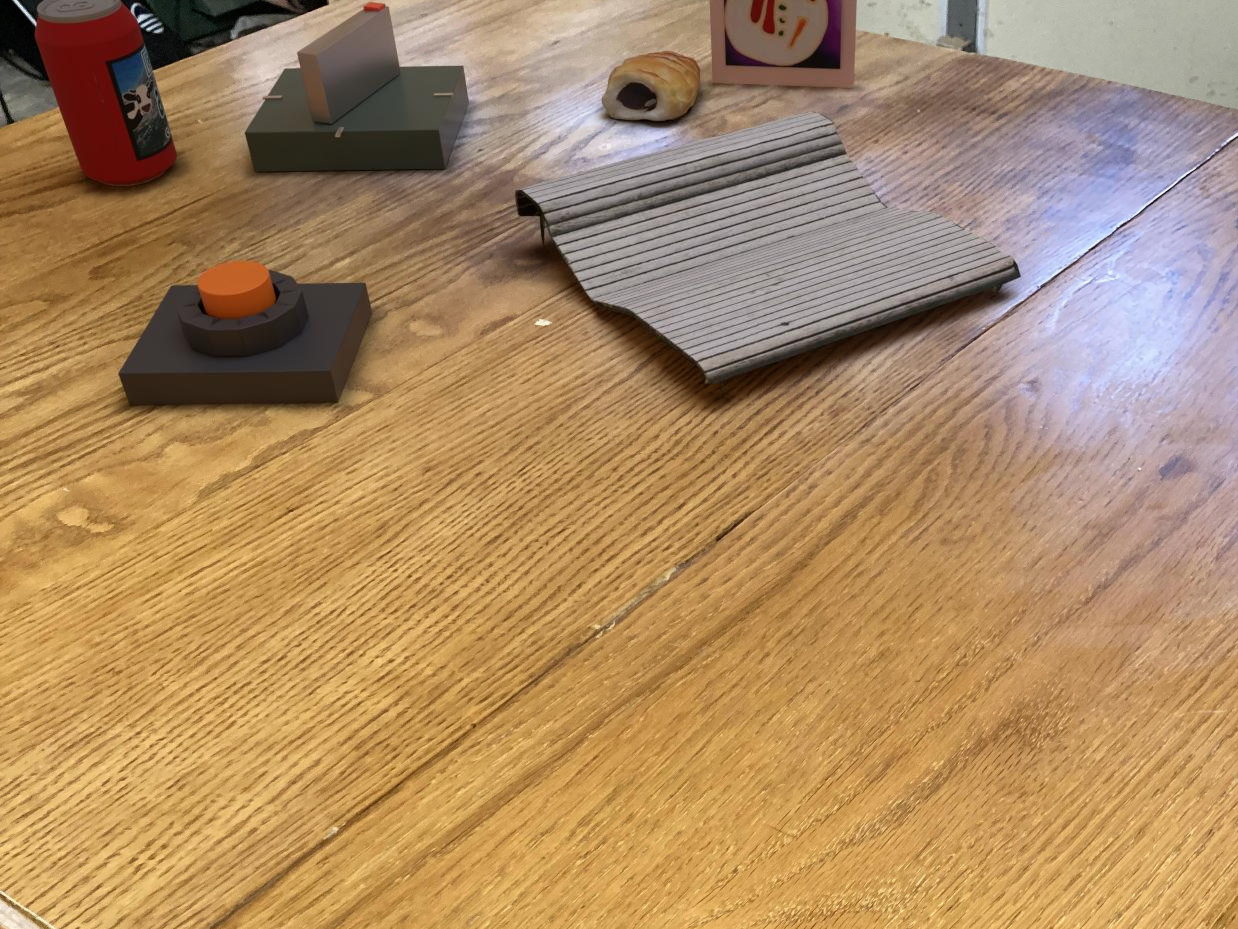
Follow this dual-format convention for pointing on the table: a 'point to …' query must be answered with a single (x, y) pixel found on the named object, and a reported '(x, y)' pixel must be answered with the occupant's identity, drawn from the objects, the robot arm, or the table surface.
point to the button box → (250, 348)
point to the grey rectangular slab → (349, 63)
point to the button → (236, 290)
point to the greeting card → (783, 42)
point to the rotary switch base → (362, 125)
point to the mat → (755, 245)
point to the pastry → (652, 87)
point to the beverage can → (105, 90)
